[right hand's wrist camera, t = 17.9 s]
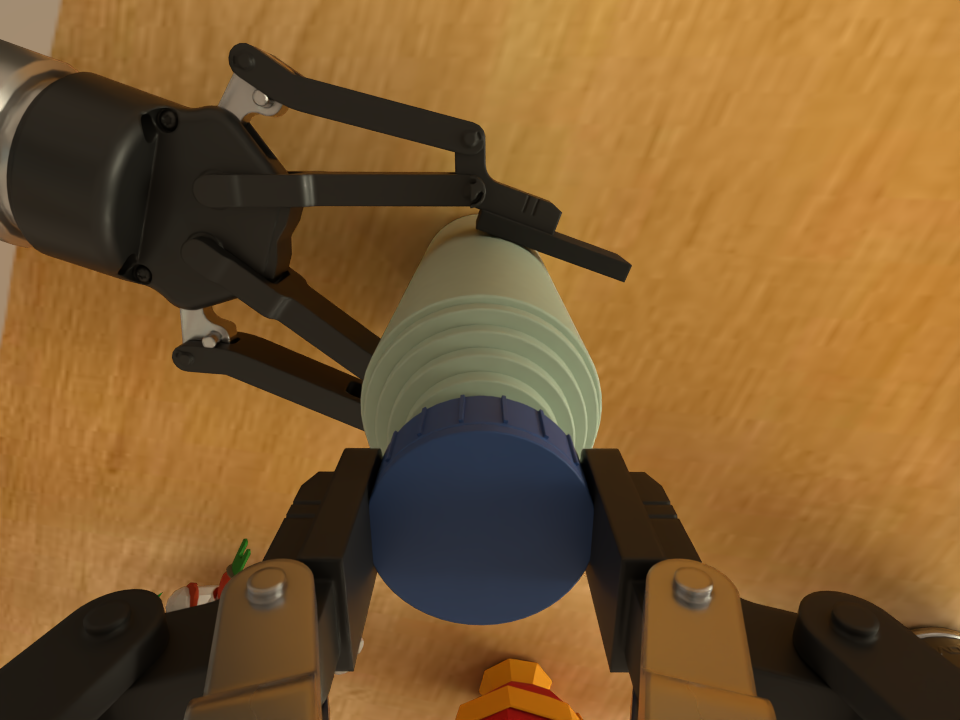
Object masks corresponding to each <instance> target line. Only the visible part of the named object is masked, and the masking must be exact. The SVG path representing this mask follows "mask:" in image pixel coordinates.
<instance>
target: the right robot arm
mask: <svg viewBox="0 0 960 720" xmlns="http://www.w3.org/2000/svg"><path fill="white" fill-rule="evenodd" d="M382 458H383V456H382V451H381V449H380V448H345V449H344V451H343V453H342V456H341V458H340V460H339V462H338V465H337V467H336V469H335V471H334V472H318V473H316V474H315V475H314V476H313V477H311V478H310V479H309V480H308V481H306V482H305V483H304V484H303V485H301V487H300V489H299V491H298V493H297V495H296V497H295V499H294V501H293V505H291V507H290V509H289V511H288V512H287V514H286V518H284V520H283V522H282V524H281V526H280V528H279V530H278V532H277V534H276V536H275V538H274V539H273V541H272V543H271V545H270V547H269V549H268V551H267V553H266V555H265V557H264V559H263V561H262V562H259V563H256V564H253V565H251V566H249V567H247V568H245V569H243V570H242V571H240V572H239V573H237V574H236V575H235V576H233V577H232V578H231V579H230V580H229V581H228V583H227V584H226V585H225V587H224V588H223V590H222V593H221V596H220V599H218V600H215V601H212V602H209V603H205V604H201V605H197V606H193V607H188V608H184V609H180V610H176V611H171V612H167V613H165V612H164V607H163V604H162V601H161V599H160V598H159V596H158V595H156V594H155V593H153V592H150V591H147V590H142V589H130V590H122V591H117V592H113V593H110V594H107V595H104V596H101V597H99V598H97V599H94V600H92V601H90V602H88V603H87V604H85V605H83V606H82V607H80V608H79V609H77V610H76V611H74V612H73V613H72V614H70V615H69V616H68V617H66V618H65V619H64V620H63V621H61V622H60V623H59V624H57V625H56V626H55V627H54V628H52V629H51V630H50V631H48V632H47V633H46V634H45V635H43V636H42V637H41V638H39V639H38V640H37V641H36V642H34V643H33V644H32V645H30V646H29V647H28V648H27V649H25V650H24V651H23V652H21V653H20V654H19V655H18V656H16V657H15V658H14V659H12V660H11V661H10V662H9V663H7V664H6V665H5V666H3V667H2V668H1V669H0V720H330V707H329V699H328V694H329V691H330V688H331V684H332V680H333V677H334V673H335V671H354V667H355V663H356V659H357V655H358V650H359V646H360V642H361V638H362V634H363V629H364V625H365V621H366V617H367V612H368V608H369V604H370V600H371V596H372V591H373V587H374V583H375V579H376V575H377V570H376V568H375V566H374V564H373V553H372V540H371V527H370V514H369V500H370V496H371V493H372V490H373V487H374V483H375V480H376V477H377V474H378V471H379V467H380V464H381V461H382ZM580 462H581V465H582V469H583V472H584V475H585V478H586V481H587V485H588V488H589V491H590V494H591V498H592V501H593V504H594V518H593V530H592V543H591V555H590V562H589V564H588V566H587V568H586V570H585V571H586V575H587V579H588V583H589V587H590V591H591V595H592V599H593V603H594V608H595V612H596V616H597V620H598V624H599V628H600V632H601V636H602V640H603V644H604V648H605V652H606V657H607V661H608V665H609V669H610V672H629V674H630V677H631V681H632V684H633V691H632V699H631V707H630V720H960V632H957V631H954V630H951V629H946V628H937V627H929V628H919V629H913V630H909V629H908V628H906V627H905V626H904V625H903V624H901V623H900V622H899V621H897V620H896V619H895V618H894V617H892V616H891V615H890V614H888V613H887V612H885V611H884V610H883V609H881V608H879V607H878V606H876V605H874V604H872V603H870V602H868V601H866V600H864V599H862V598H859V597H856V596H853V595H850V594H846V593H842V592H836V591H818V592H813V593H811V594H808V595H807V596H805V597H804V598H803V599H802V601H801V603H800V605H799V609H798V613H794V612H790V611H785V610H781V609H777V608H772V607H768V606H764V605H760V604H756V603H753V602H750V601H747V600H745V599H742V598H740V596H739V592H738V590H737V588H736V587H735V585H734V584H733V583H732V581H731V580H730V579H729V578H728V577H727V576H725V575H724V574H723V573H721V572H720V571H718V570H717V569H715V568H713V567H711V566H709V565H707V564H704V563H702V561H701V559H700V557H699V556H698V554H697V552H696V550H695V548H694V546H693V544H692V542H691V540H690V539H689V537H688V535H687V533H686V531H685V529H684V527H683V525H682V523H681V521H680V520H679V519H677V514H676V512H675V510H674V508H673V506H672V505H670V501H669V499H668V497H667V495H666V493H665V491H664V489H663V487H662V486H661V485H660V484H659V483H658V482H656V481H655V480H654V479H652V478H651V477H650V476H649V475H647V474H646V473H645V472H629V471H628V469H627V467H626V464H625V462H624V460H623V458H622V456H621V453H620V451H619V450H618V449H582V451H581V456H580Z"/></svg>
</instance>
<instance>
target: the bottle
mask: <svg viewBox="0 0 960 720" xmlns="http://www.w3.org/2000/svg"><path fill="white" fill-rule="evenodd" d="M477 216H478V214H474V215H468V216H464V217H461V218H459V219H456V220H454V221H453V222H451V223H449V224H448V225H446V226H445V227H444V228H442V229H441V230H440V231H439V232H438V233H437V234H436V236H435V237H434V238H433V239H432V241H431V243H430V244H429V246H428V248H427V250H426V252H425V254H424V256H423V258H422V260H421V262H420V264H419V265H418V267H417V269H416V271H415V273H414V275H413V277H412V279H411V281H410V283H409V285H408V287H407V289H406V291H405V293H404V295H403V297H402V299H401V301H400V303H399V305H398V307H397V309H396V311H395V313H394V314H393V316H392V318H391V320H390V322H389V324H388V326H387V328H386V330H385V332H384V334H383V336H382V338H381V340H380V342H379V344H378V346H377V348H376V350H375V352H374V354H373V356H372V358H371V360H370V362H369V365H368V367H367V370H366V372H365V376H364V380H363V384H362V392H361V416H362V422H363V427H364V431H365V434H366V437H367V440H368V443H369V446H370V448H380V449H381V451H382V456H383V455H384V453H385V451H386V449H387V447H388V445H389V444H390V442H391V439H392V436H393V433H394V431H395V430H396V431H397V432H398V431H399V430H400V429H401V428H402V427H403V426H404V425H405V424H406V423H407V422H409V421H410V420H411V419H412V418H413V417H415V416H416V415H418V414H419V413H421V412H422V408H424V407H426V408H427V409H428V408H430V407H432V406H434V405H436V404H439V403H442V402H445V401H448V400H451V399H456V398H460V395H465V397H468V396H494V397H500V398H501V397H502V395H504V396H506V399H510V400H513V401H517V402H520V403H523V404H525V405H528V406H530V407H532V408H534V409H536V410H537V411H539V410H540V409H541V410H543V412H544V415H546V416H547V417H548V418H549V419H551V420H552V421H553V422H554V423H556V424H557V425H558V426H559V427H560V429H561V430H562V431H563V432H564V433H565V434H566V435H568V434H570V436H571V438H572V441H573V445H574V448H575V450H576V452H577V454H578V456H579V459H580V456H581V451H582V449H592V447H593V445H594V441H595V438H596V436H597V432H598V429H599V425H600V419H601V411H602V394H601V388H600V382H599V378H598V375H597V372H596V369H595V366H594V364H593V361H592V359H591V357H590V355H589V353H588V351H587V349H586V347H585V345H584V343H583V341H582V339H581V337H580V335H579V333H578V331H577V329H576V327H575V325H574V323H573V321H572V319H571V317H570V315H569V313H568V311H567V309H566V307H565V305H564V303H563V301H562V299H561V297H560V295H559V293H558V291H557V289H556V287H555V285H554V283H553V281H552V279H551V277H550V275H549V273H548V271H547V269H546V267H545V265H544V263H543V261H542V259H541V257H540V255H539V253H538V251H536V250H533V249H530V248H527V247H525V246H522V245H519V244H516V243H514V242H511V241H508V240H505V239H502V238H500V237H497V236H494V235H491V234H489V233H486V232H483V231H480V230H477V229H476V219H477Z"/></svg>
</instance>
